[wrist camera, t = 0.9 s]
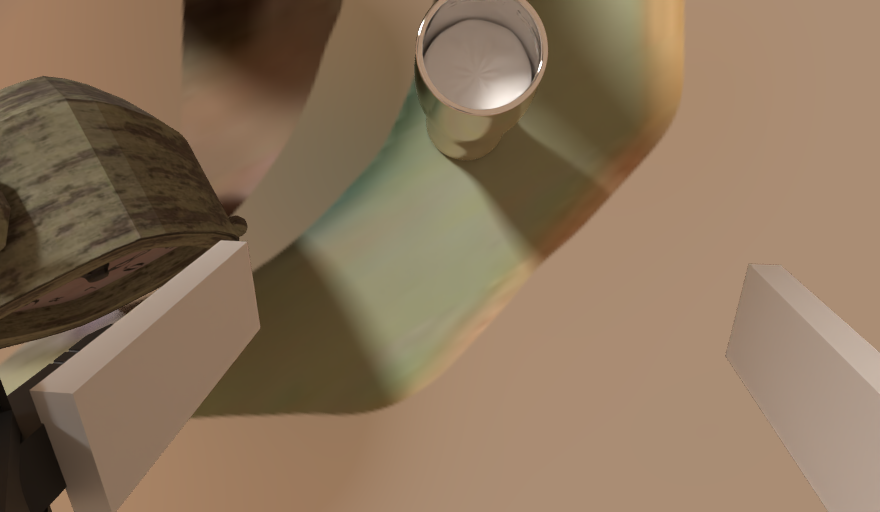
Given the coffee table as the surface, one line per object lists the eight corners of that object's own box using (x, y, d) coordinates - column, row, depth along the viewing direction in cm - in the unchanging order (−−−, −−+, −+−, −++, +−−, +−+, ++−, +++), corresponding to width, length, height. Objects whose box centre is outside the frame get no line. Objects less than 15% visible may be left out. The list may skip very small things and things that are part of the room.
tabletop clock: (107, 324, 42) (-387, 436, 17) (50, 220, 42) (-533, 176, 17) (273, 235, 42) (29, 214, 17) (217, 131, 42) (-115, -48, 17)
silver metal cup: (526, 100, 42) (576, 16, 27) (486, 182, 42) (514, 144, 27) (444, 60, 42) (449, -47, 27) (404, 142, 42) (387, 81, 27)
